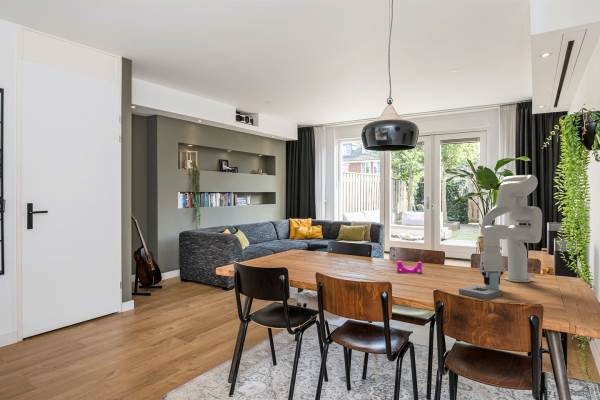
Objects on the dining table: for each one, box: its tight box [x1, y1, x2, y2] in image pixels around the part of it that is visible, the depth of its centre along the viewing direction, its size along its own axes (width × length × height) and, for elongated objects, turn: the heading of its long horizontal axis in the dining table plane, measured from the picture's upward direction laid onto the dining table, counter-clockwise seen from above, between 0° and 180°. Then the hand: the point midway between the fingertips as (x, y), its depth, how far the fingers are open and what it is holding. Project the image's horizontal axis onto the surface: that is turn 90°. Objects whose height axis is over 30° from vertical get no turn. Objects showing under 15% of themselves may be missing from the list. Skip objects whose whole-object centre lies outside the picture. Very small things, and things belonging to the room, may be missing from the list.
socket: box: [458, 284, 503, 300], centre depth 183 cm, size 14×14×2 cm
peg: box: [484, 272, 500, 290], centre depth 194 cm, size 4×4×9 cm
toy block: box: [396, 260, 423, 274], centre depth 238 cm, size 15×6×8 cm, turn 74°
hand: (491, 284), depth 194 cm, fingers open, 5 cm apart
